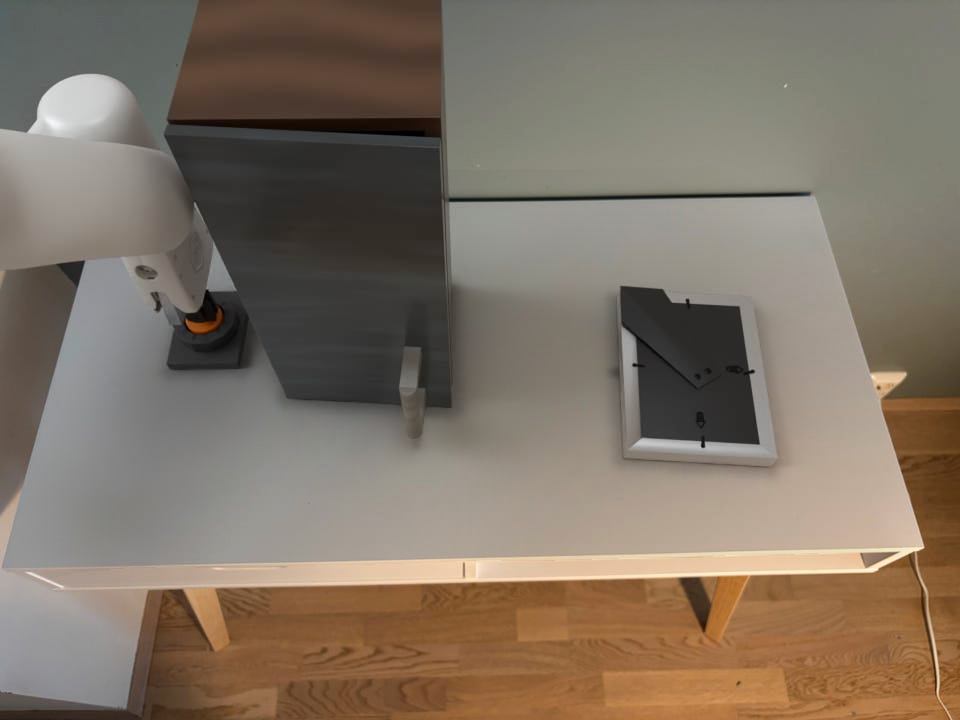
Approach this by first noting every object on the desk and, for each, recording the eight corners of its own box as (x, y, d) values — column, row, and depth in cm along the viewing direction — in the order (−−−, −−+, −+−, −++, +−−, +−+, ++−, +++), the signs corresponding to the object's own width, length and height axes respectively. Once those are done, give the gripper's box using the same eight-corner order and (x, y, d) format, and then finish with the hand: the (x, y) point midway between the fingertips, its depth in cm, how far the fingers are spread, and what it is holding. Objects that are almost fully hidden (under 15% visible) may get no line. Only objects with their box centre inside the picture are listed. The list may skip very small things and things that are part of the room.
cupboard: (452, 386, 83) (441, 117, 49) (288, 388, 82) (165, 119, 49) (451, 285, 90) (441, -10, 56) (300, 287, 89) (201, -9, 56)
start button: (223, 339, 84) (218, 331, 82) (187, 340, 84) (182, 331, 82) (228, 310, 86) (224, 302, 84) (193, 311, 86) (188, 302, 84)
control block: (240, 368, 83) (233, 355, 81) (169, 369, 83) (160, 356, 81) (252, 296, 88) (245, 281, 86) (185, 297, 88) (176, 282, 86)
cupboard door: (448, 451, 78) (432, 209, 45) (277, 441, 79) (139, 194, 46) (452, 399, 82) (441, 137, 49) (288, 390, 82) (166, 123, 49)
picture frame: (616, 299, 89) (623, 458, 78) (620, 285, 86) (628, 447, 76) (746, 306, 89) (771, 467, 78) (754, 292, 86) (780, 456, 76)
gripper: (166, 270, 64) (227, 372, 80) (196, 146, 71) (246, 262, 87) (79, 271, 63) (157, 373, 79) (117, 147, 71) (182, 263, 87)
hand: (203, 315), depth 83 cm, fingers closed
